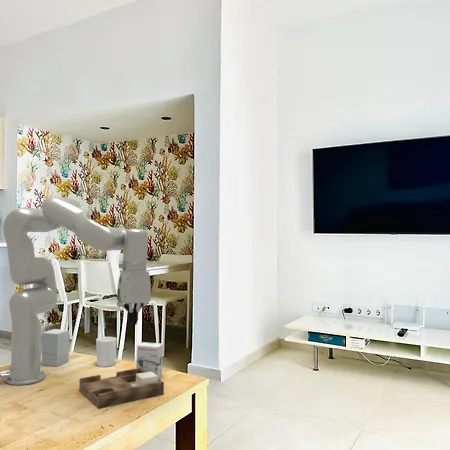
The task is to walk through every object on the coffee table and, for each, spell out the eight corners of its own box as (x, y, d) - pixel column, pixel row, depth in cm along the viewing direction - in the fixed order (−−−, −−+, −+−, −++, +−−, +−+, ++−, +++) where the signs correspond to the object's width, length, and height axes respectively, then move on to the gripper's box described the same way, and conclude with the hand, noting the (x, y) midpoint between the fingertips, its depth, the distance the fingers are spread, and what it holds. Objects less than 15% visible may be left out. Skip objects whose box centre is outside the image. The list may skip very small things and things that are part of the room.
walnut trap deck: (99, 408, 133) (99, 395, 133) (79, 390, 148) (79, 378, 148) (163, 394, 146) (163, 382, 146) (139, 379, 160) (139, 367, 160)
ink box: (135, 378, 161) (136, 345, 161) (140, 374, 166) (140, 342, 166) (158, 380, 160) (159, 346, 160) (162, 375, 165) (163, 343, 165)
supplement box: (69, 361, 179) (70, 330, 179) (56, 367, 172) (57, 333, 172) (54, 359, 182) (54, 328, 182) (41, 364, 175) (41, 332, 175)
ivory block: (141, 389, 143) (141, 378, 143) (135, 384, 148) (135, 373, 148) (157, 386, 145) (157, 376, 146) (151, 382, 150) (151, 371, 150)
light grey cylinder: (97, 368, 171) (98, 342, 172) (93, 362, 178) (94, 337, 179) (118, 366, 175) (118, 340, 175) (113, 360, 182) (114, 335, 182)
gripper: (117, 268, 138) (114, 328, 138) (160, 267, 146) (158, 324, 146) (108, 266, 144) (105, 324, 144) (150, 265, 153) (148, 319, 152)
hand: (132, 323), depth 145 cm, fingers closed
